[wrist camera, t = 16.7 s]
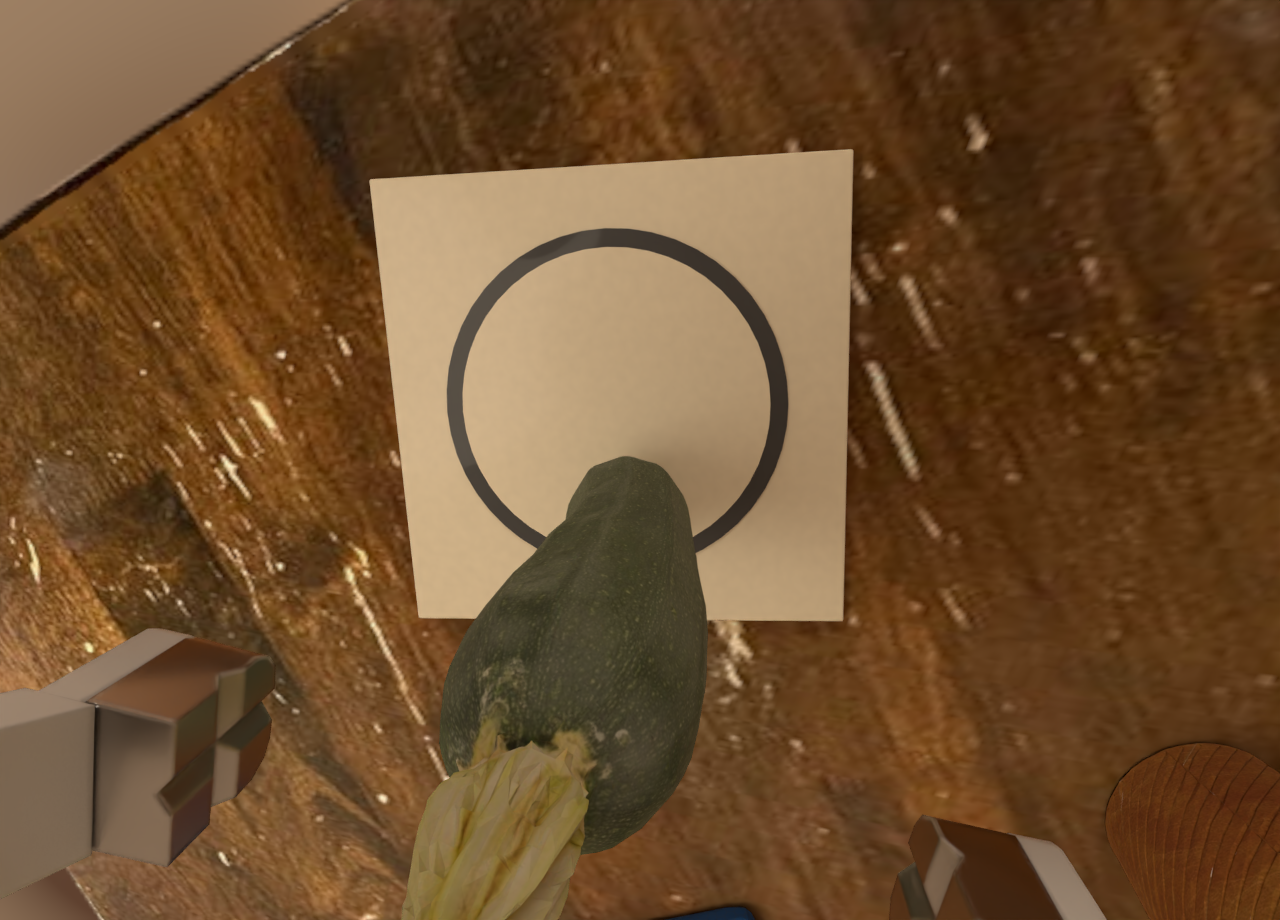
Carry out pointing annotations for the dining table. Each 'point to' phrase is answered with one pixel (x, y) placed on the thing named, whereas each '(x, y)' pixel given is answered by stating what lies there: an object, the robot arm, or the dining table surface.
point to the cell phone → (720, 915)
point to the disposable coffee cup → (1200, 834)
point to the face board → (625, 364)
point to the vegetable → (567, 704)
